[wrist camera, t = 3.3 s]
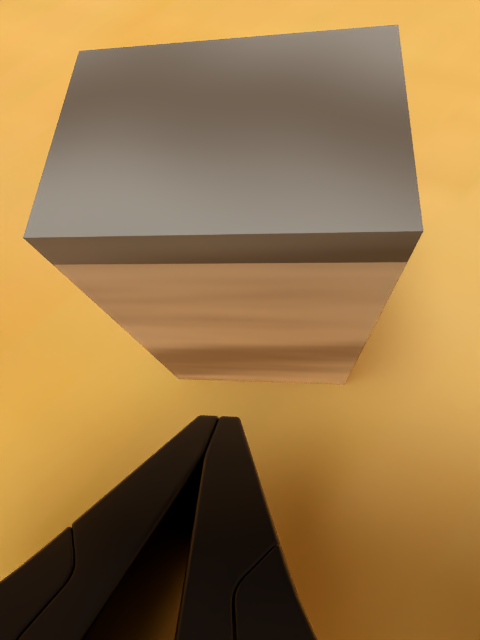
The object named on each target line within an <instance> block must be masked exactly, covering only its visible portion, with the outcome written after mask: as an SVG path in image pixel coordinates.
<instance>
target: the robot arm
mask: <svg viewBox="0 0 480 640" xmlns="http://www.w3.org/2000/svg"><path fill="white" fill-rule="evenodd" d="M0 640H317V638H316V636H315V634H314V631H313V629H312V627H311V624H310V622H309V620H308V618H307V615H306V613H305V611H304V608H303V606H302V604H301V601H300V599H299V597H298V594H297V591H296V588H295V585H294V583H293V580H292V577H291V574H290V572H289V569H288V566H287V563H286V560H285V557H284V554H283V551H282V548H281V546H280V542H279V539H278V536H277V533H276V530H275V526H274V523H273V520H272V517H271V514H270V511H269V508H268V505H267V501H266V498H265V495H264V492H263V489H262V486H261V483H260V480H259V477H258V473H257V470H256V467H255V464H254V461H253V458H252V455H251V452H250V448H249V445H248V442H247V439H246V436H245V433H244V430H243V427H242V424H241V420H240V419H239V418H238V417H227V416H222V417H220V418H218V417H217V416H205V415H201V416H198V417H197V418H196V419H194V420H193V421H192V422H191V423H190V424H189V425H187V426H186V427H185V428H184V429H183V430H182V431H180V432H179V433H178V434H177V435H176V436H174V437H173V438H172V439H171V440H170V441H169V442H167V443H166V444H165V445H164V446H163V447H162V448H160V449H159V450H158V451H157V452H156V453H155V454H153V455H152V456H151V457H150V458H149V459H147V460H146V461H145V462H144V463H143V464H142V465H140V466H139V467H138V468H137V469H136V470H135V471H133V472H132V473H131V474H130V475H129V476H128V477H126V478H125V479H124V480H123V481H122V482H120V483H119V484H118V485H117V486H116V487H115V488H113V489H112V490H111V491H110V492H109V493H108V494H106V495H105V496H104V497H103V498H102V499H100V500H99V501H98V502H97V503H96V504H95V505H93V506H92V507H91V508H90V509H89V510H88V511H86V512H85V513H84V514H83V515H82V516H81V517H79V518H78V519H77V520H76V521H75V522H73V524H72V528H71V527H67V528H66V529H65V530H64V531H63V532H61V533H60V534H59V535H58V536H57V537H56V538H54V539H53V540H52V541H51V542H50V543H48V544H47V545H46V546H45V547H44V548H42V549H41V550H40V551H39V552H37V553H36V554H35V555H34V556H33V557H31V558H30V559H29V560H28V561H26V562H25V563H24V564H23V565H21V566H20V567H19V568H18V569H16V570H15V571H14V572H12V573H11V574H10V575H8V576H7V577H6V578H4V579H3V580H2V581H0Z"/></svg>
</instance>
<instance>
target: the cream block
mask: <svg viewBox="0 0 480 640" xmlns="http://www.w3.org/2000/svg"><path fill="white" fill-rule="evenodd" d="M422 232H423V225H422V217H421V209H420V201H419V192H418V184H417V176H416V168H415V160H414V151H413V143H412V135H411V127H410V118H409V110H408V102H407V94H406V86H405V77H404V69H403V61H402V53H401V44H400V36H399V28H398V25H388V26H376V27H364V28H352V29H340V30H328V31H316V32H304V33H292V34H280V35H268V36H255V37H243V38H231V39H219V40H207V41H195V42H183V43H171V44H159V45H147V46H135V47H123V48H110V49H98V50H86V51H79V53H78V57H77V60H76V63H75V67H74V70H73V73H72V77H71V80H70V83H69V87H68V90H67V93H66V97H65V100H64V103H63V107H62V110H61V113H60V117H59V120H58V123H57V127H56V130H55V133H54V137H53V140H52V143H51V147H50V150H49V153H48V157H47V160H46V163H45V167H44V170H43V173H42V177H41V180H40V183H39V187H38V190H37V193H36V197H35V200H34V204H33V207H32V210H31V214H30V217H29V220H28V224H27V227H26V230H25V234H24V237H23V238H24V239H25V240H26V241H27V242H28V243H30V244H31V245H32V246H33V247H34V248H35V249H36V250H37V251H38V252H40V253H41V254H42V255H43V256H44V257H45V258H46V259H47V260H48V261H49V262H51V263H52V264H53V265H54V266H55V267H56V268H57V269H58V270H59V271H60V272H62V273H63V274H64V275H65V276H66V277H67V278H68V279H69V280H70V281H71V282H73V283H74V284H75V285H76V286H77V287H78V288H79V289H80V290H81V291H82V292H84V293H85V294H86V295H87V296H88V297H89V298H90V299H91V300H92V301H94V302H95V303H96V304H97V305H98V306H99V307H100V308H101V309H102V310H103V311H105V312H106V313H107V314H108V315H109V316H110V317H111V318H112V319H113V320H114V321H116V322H117V323H118V324H119V325H120V326H121V327H122V328H123V329H124V330H125V331H127V332H128V333H129V334H130V335H131V336H132V337H133V338H134V339H135V340H137V341H138V342H139V343H140V344H141V345H142V346H143V347H144V348H145V349H146V350H148V351H149V352H150V353H151V354H152V355H153V356H154V357H155V358H156V359H157V360H159V361H160V362H161V363H162V364H163V365H164V366H165V367H166V368H167V369H168V370H170V371H171V372H172V373H173V374H174V375H175V376H176V377H177V378H178V379H198V380H228V381H259V382H289V383H320V384H345V382H346V380H347V378H348V376H349V374H350V372H351V370H352V368H353V366H354V365H355V363H356V361H357V359H358V357H359V355H360V353H361V351H362V349H363V347H364V345H365V343H366V341H367V339H368V337H369V335H370V333H371V332H372V330H373V328H374V326H375V324H376V322H377V320H378V318H379V316H380V314H381V312H382V310H383V308H384V306H385V304H386V302H387V300H388V299H389V297H390V295H391V293H392V291H393V289H394V287H395V285H396V283H397V281H398V279H399V277H400V275H401V273H402V271H403V269H404V267H405V265H406V264H407V262H408V260H409V258H410V256H411V254H412V252H413V250H414V248H415V246H416V244H417V242H418V240H419V238H420V236H421V234H422Z"/></svg>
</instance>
